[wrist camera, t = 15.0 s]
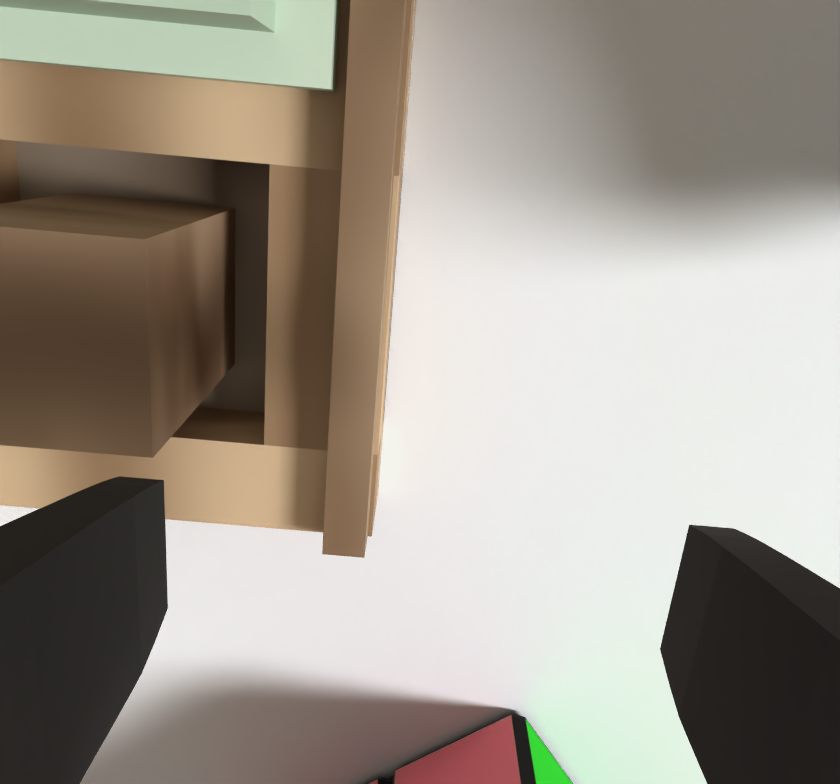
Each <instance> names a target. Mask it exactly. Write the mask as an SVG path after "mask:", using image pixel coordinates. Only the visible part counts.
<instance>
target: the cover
mask: <svg viewBox="0 0 840 784" xmlns="http://www.w3.org/2000/svg"><path fill="white" fill-rule="evenodd" d="M339 13H340V0H0V60H2V61H13V62H23V63H34V64H45V65H55V66H66V67H77V68H87V69H98V70H108V71H119V72H130V73H140V74H151V75H162V76H172V77H183V78H194V79H204V80H215V81H225V82H236V83H247V84H257V85H268V86H279V87H289V88H300V89H311V90H321V91H332V92H336V77H337V56H338V35H339Z"/></svg>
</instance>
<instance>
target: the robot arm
mask: <svg viewBox="0 0 840 784" xmlns="http://www.w3.org/2000/svg"><path fill="white" fill-rule="evenodd" d="M167 609H168V604H167V570H166V536H165V501H164V480H157V479H145V478H133V477H122V476H118V477H115V478H112V479H109V480H106V481H103V482H100V483H98V484H95V485H93V486H90V487H88V488H85V489H83V490H81V491H78V492H76V493H74V494H71V495H69V496H67V497H65V498H62V499H60V500H58V501H56V502H54V503H51V504H49V505H47V506H45V507H42V508H40V509H38V510H36V511H34V512H31V513H29V514H27V515H25V516H22V517H20V518H18V519H16V520H13V521H11V522H9V523H7V524H5V525H2V526H0V784H79V783H80V782H81V780H82V778H83V776H84V775H85V773H86V771H87V769H88V768H89V766H90V764H91V762H92V761H93V759H94V757H95V755H96V754H97V752H98V750H99V748H100V747H101V745H102V743H103V741H104V740H105V738H106V736H107V734H108V733H109V731H110V729H111V727H112V726H113V724H114V722H115V720H116V719H117V717H118V715H119V713H120V711H121V710H122V708H123V706H124V704H125V703H126V701H127V699H128V697H129V695H130V694H131V692H132V690H133V688H134V686H135V685H136V683H137V681H138V679H139V677H140V675H141V674H142V671H143V669H144V666H145V664H146V662H147V659H148V657H149V654H150V652H151V650H152V647H153V645H154V642H155V640H156V637H157V635H158V632H159V629H160V627H161V624H162V622H163V619H164V616H165V614H166V611H167ZM660 650H661V654H662V658H663V661H664V665H665V669H666V673H667V677H668V681H669V684H670V688H671V691H672V695H673V698H674V701H675V705H676V708H677V711H678V715H679V718H680V720H681V723H682V725H683V727H684V730H685V732H686V735H687V737H688V739H689V742H690V744H691V746H692V749H693V751H694V754H695V756H696V758H697V761H698V763H699V765H700V768H701V770H702V772H703V775H704V777H705V779H706V781H707V784H840V588H838V587H836V586H835V585H833V584H831V583H830V582H828V581H826V580H825V579H823V578H821V577H820V576H818V575H816V574H815V573H813V572H812V571H810V570H808V569H807V568H805V567H803V566H802V565H800V564H798V563H797V562H795V561H793V560H792V559H790V558H788V557H787V556H785V555H783V554H782V553H780V552H778V551H776V550H775V549H773V548H771V547H769V546H768V545H766V544H764V543H762V542H760V541H759V540H757V539H755V538H753V537H751V536H749V535H747V534H745V533H742V532H740V531H738V530H736V529H732V528H720V527H709V526H697V525H689V529H688V533H687V537H686V542H685V546H684V550H683V554H682V559H681V563H680V567H679V571H678V576H677V580H676V584H675V588H674V592H673V597H672V601H671V605H670V609H669V614H668V618H667V622H666V626H665V631H664V635H663V639H662V643H661V648H660Z"/></svg>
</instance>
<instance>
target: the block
mask: <svg viewBox="0 0 840 784" xmlns="http://www.w3.org/2000/svg"><path fill="white" fill-rule="evenodd" d="M234 364H235V208H231V207H220V206H208V205H197V204H186V203H175V202H163V201H152V200H141V199H130V198H118V197H107V196H96V195H85V194H73V193H70V194H63V195H57V196H50V197H43V198H36V199H30V200H23V201H16V202H9V203H3V204H0V445H4V446H16V447H28V448H40V449H52V450H64V451H76V452H88V453H100V454H112V455H124V456H136V457H148V458H153V457H154V456H155V455H156V454H157V453H158V451H159V450H160V449H161V448H162V447H163V446H164V445H165V443H166V442H167V441H168V440H169V439H170V438H171V437H172V435H173V434H174V433H175V432H176V431H177V430H178V428H179V427H180V426H181V425H182V424H183V423H184V422H185V420H186V419H187V418H188V417H189V416H190V415H191V414H192V412H193V411H194V410H195V409H196V408H197V407H198V406H199V404H200V403H201V402H202V401H203V400H204V399H205V398H206V396H207V395H208V394H209V393H210V392H211V391H212V390H213V388H214V387H215V386H216V385H217V384H218V383H219V382H220V380H221V379H222V378H223V377H224V376H225V375H226V374H227V372H228V371H229V370H230V369H231V368H232V367H233V366H234Z"/></svg>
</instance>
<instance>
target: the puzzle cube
mask: <svg viewBox="0 0 840 784" xmlns="http://www.w3.org/2000/svg"><path fill="white" fill-rule="evenodd" d="M369 784H573V783H572V781H571V780H570V779H569V777H568V776H567V775H566V773H565V772H564V770H563V769H562V768H561V766H560V765H559V764H558V762H557V761H556V759H555V758H554V757H553V755H552V754H551V752H550V751H549V750H548V748H547V747H546V746H545V744H544V743H543V741H542V740H541V739H540V737H539V736H538V735H537V733H536V732H535V730H534V729H533V728H532V726H531V725H530V723H529V722H528V721H527V719H526V718H525V717H522V716H519V715H516V714H512V715H509V716H507V717H505V718H503V719H501V720H499V721H497V722H495V723H493V724H491V725H489V726H487V727H485V728H483V729H480V730H478V731H476V732H474V733H472V734H470V735H468V736H466V737H464V738H462V739H460V740H458V741H456V742H454V743H451V744H449V745H447V746H445V747H443V748H441V749H439V750H437V751H435V752H433V753H431V754H429V755H427V756H425V757H422V758H420V759H418V760H416V761H414V762H412V763H410V764H408V765H406V766H404V767H402V768H400V769H398V770H395V771H394V775H393V778H392V781H390V780H388V779H386V778H380V779H377V780H375V781H373V782H371V783H369Z"/></svg>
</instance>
